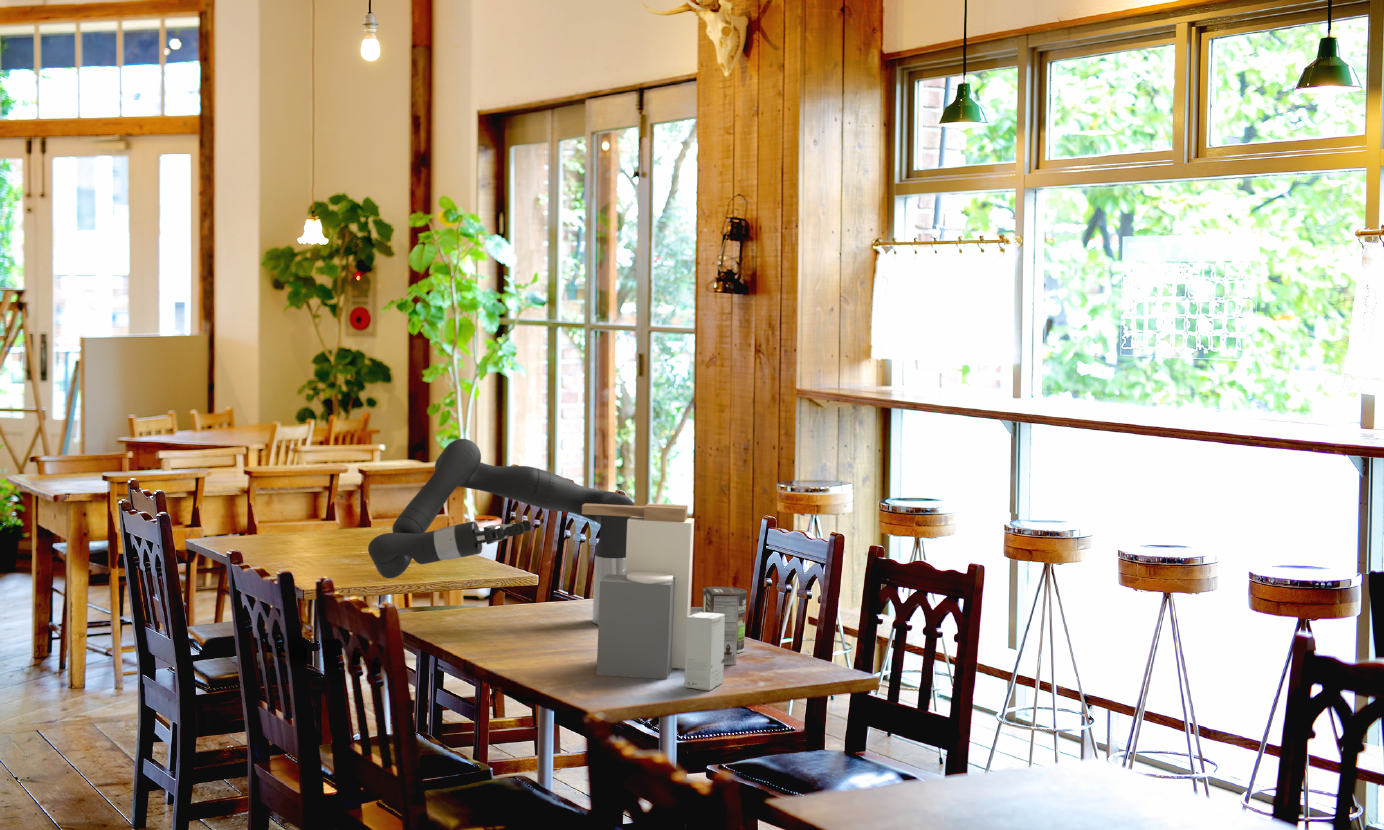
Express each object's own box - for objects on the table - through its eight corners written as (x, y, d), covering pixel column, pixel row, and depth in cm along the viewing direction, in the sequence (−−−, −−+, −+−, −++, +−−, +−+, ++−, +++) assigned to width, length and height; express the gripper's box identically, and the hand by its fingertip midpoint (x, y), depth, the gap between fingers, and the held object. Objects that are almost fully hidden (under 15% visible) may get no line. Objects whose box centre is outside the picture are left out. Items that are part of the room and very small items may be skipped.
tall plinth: (626, 656, 296) (632, 515, 295) (688, 659, 295) (694, 518, 293) (621, 664, 287) (627, 519, 286) (685, 668, 286) (691, 523, 285)
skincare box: (709, 691, 266) (712, 619, 266) (682, 687, 268) (685, 615, 268) (724, 682, 274) (726, 612, 274) (697, 679, 276) (700, 609, 276)
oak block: (585, 513, 294) (586, 500, 294) (687, 518, 293) (687, 505, 292) (580, 517, 287) (581, 503, 287) (684, 522, 286) (685, 508, 286)
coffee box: (702, 655, 299) (705, 586, 298) (729, 656, 300) (732, 586, 300) (709, 665, 290) (712, 593, 289) (737, 665, 291) (740, 593, 290)
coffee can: (750, 647, 310) (752, 588, 310) (736, 656, 300) (738, 595, 300) (709, 642, 314) (711, 584, 313) (694, 651, 304) (696, 590, 303)
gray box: (603, 664, 286) (606, 569, 286) (671, 668, 285) (675, 572, 285) (596, 674, 277) (600, 576, 276) (666, 678, 275) (670, 580, 275)
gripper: (447, 527, 289) (518, 512, 288) (461, 522, 303) (529, 508, 302) (453, 560, 289) (525, 546, 288) (468, 554, 303) (536, 540, 302)
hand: (527, 526), depth 295 cm, fingers open, 8 cm apart
